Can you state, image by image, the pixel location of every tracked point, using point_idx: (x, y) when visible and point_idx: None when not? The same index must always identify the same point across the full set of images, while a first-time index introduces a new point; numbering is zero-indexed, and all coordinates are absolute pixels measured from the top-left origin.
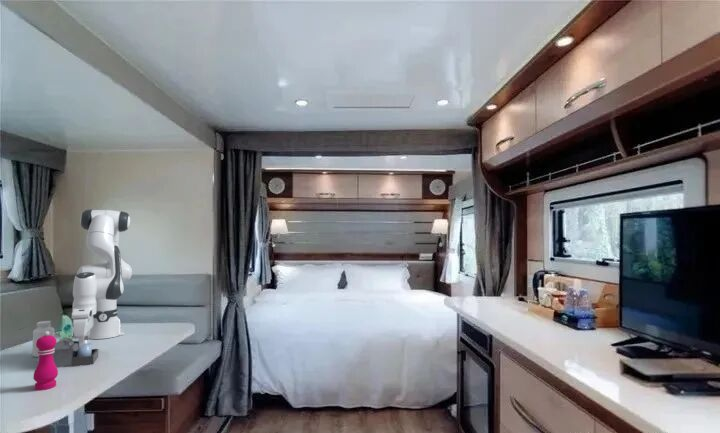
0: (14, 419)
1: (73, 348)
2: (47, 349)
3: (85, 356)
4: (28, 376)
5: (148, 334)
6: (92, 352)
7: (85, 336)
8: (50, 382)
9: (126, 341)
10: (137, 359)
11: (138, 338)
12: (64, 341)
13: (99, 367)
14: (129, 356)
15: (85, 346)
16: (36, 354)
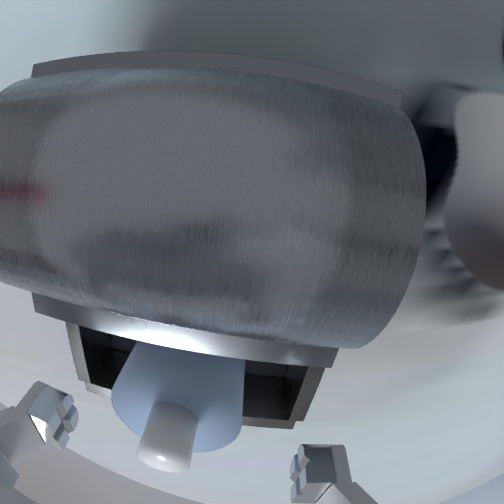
0: None
1: (79, 319)
2: None
3: (77, 353)
4: (16, 34)
5: (500, 455)
6: (293, 386)
7: (301, 486)
8: None
9: (487, 430)
10: (137, 471)
11: (486, 449)
12: (22, 263)
13: (46, 364)
14: (201, 469)
15: (117, 411)
16: None
